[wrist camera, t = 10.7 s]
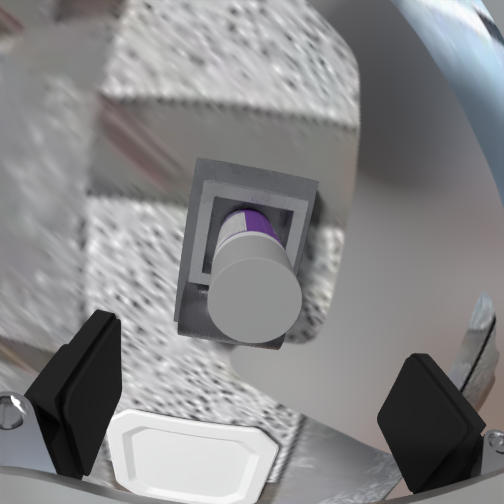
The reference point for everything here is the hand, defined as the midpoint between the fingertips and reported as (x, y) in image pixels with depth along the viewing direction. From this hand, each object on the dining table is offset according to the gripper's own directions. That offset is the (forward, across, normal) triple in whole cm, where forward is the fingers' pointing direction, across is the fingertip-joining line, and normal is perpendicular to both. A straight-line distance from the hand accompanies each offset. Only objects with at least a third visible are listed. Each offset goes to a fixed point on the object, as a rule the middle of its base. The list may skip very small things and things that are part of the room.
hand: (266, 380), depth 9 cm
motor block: (+24, 0, +2) cm, 24 cm away
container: (+21, 0, 0) cm, 21 cm away
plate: (+24, +2, +38) cm, 45 cm away
